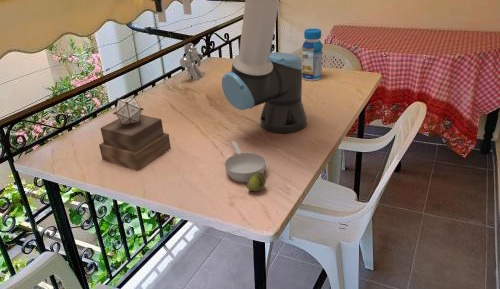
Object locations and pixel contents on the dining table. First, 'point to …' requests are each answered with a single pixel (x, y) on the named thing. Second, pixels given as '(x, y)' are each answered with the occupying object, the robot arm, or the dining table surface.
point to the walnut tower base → (137, 156)
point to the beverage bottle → (312, 55)
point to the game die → (128, 111)
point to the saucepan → (244, 165)
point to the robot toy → (191, 57)
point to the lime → (256, 182)
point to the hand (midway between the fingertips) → (175, 18)
